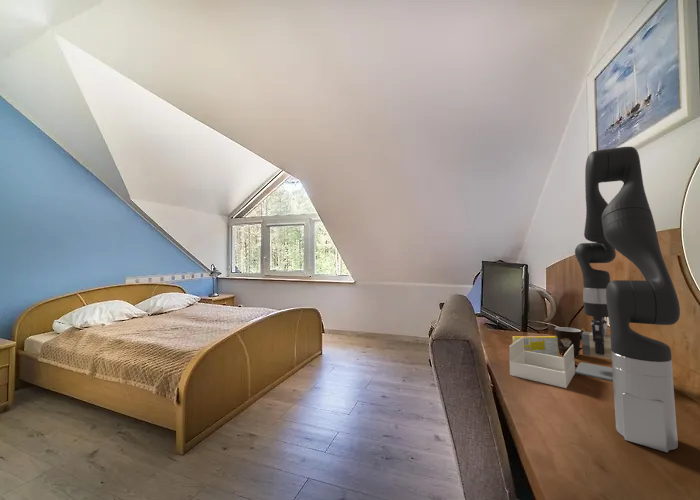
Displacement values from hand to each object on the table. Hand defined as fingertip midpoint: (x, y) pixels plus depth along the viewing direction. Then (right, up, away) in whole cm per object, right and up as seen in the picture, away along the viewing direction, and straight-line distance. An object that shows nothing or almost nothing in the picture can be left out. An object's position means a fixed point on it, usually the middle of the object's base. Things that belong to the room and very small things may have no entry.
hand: (600, 352), depth 97 cm
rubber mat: (0, -7, 0) cm, 7 cm away
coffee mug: (+5, -8, +18) cm, 20 cm away
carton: (-20, -7, 0) cm, 21 cm away
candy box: (-11, -8, +17) cm, 22 cm away
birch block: (0, -1, 0) cm, 1 cm away
